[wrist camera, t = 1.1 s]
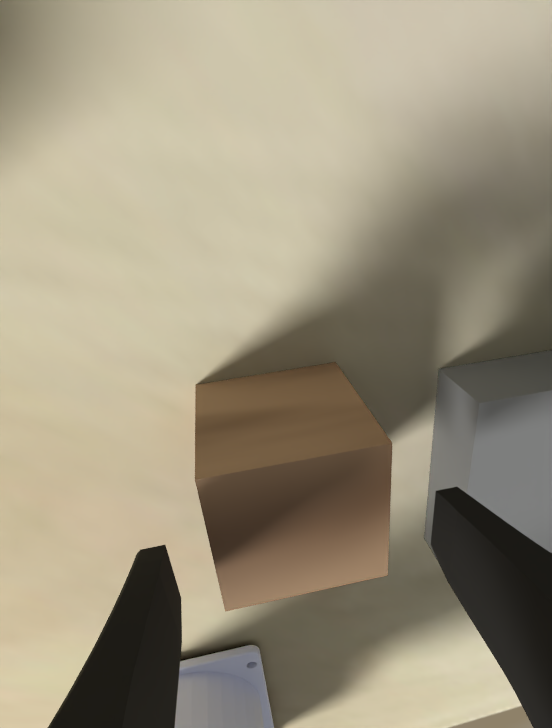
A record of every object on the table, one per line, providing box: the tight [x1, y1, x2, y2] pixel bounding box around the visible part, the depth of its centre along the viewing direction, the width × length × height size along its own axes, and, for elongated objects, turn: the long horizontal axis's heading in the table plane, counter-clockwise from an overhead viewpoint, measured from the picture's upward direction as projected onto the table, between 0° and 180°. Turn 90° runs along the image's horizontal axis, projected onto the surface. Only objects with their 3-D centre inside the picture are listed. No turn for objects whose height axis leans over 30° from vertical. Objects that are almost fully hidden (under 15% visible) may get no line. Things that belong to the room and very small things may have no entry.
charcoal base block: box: [424, 350, 552, 559], centre depth 17 cm, size 9×9×3 cm
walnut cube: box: [195, 362, 392, 611], centre depth 14 cm, size 5×5×5 cm
